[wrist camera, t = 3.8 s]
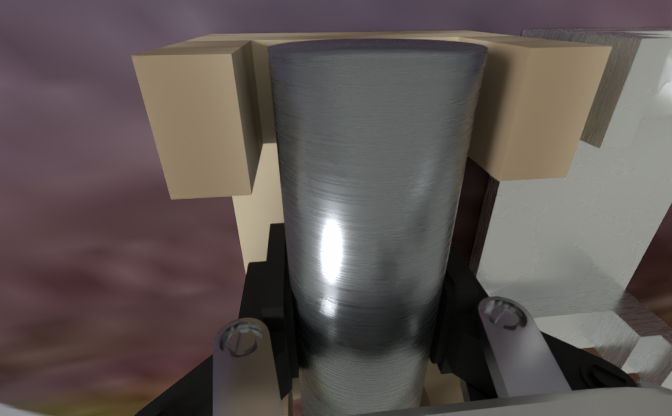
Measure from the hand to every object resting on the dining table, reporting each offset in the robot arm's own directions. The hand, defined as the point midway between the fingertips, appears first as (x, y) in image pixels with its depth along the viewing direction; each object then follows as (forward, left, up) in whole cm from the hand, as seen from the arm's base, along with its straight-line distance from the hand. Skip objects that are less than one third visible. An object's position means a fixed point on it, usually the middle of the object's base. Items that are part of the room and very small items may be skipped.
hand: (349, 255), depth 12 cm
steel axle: (0, 0, +1) cm, 1 cm away
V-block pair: (-10, 0, -2) cm, 10 cm away
